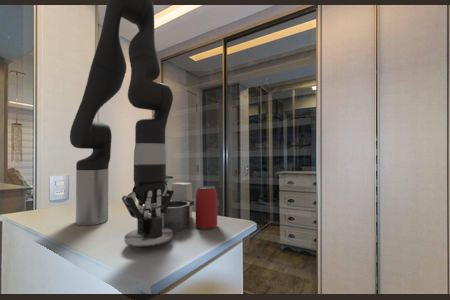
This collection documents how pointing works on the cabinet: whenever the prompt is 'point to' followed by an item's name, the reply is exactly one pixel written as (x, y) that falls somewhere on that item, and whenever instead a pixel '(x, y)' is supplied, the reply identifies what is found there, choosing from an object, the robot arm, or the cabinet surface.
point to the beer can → (206, 207)
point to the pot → (177, 216)
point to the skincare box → (182, 193)
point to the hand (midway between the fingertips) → (149, 232)
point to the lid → (149, 234)
